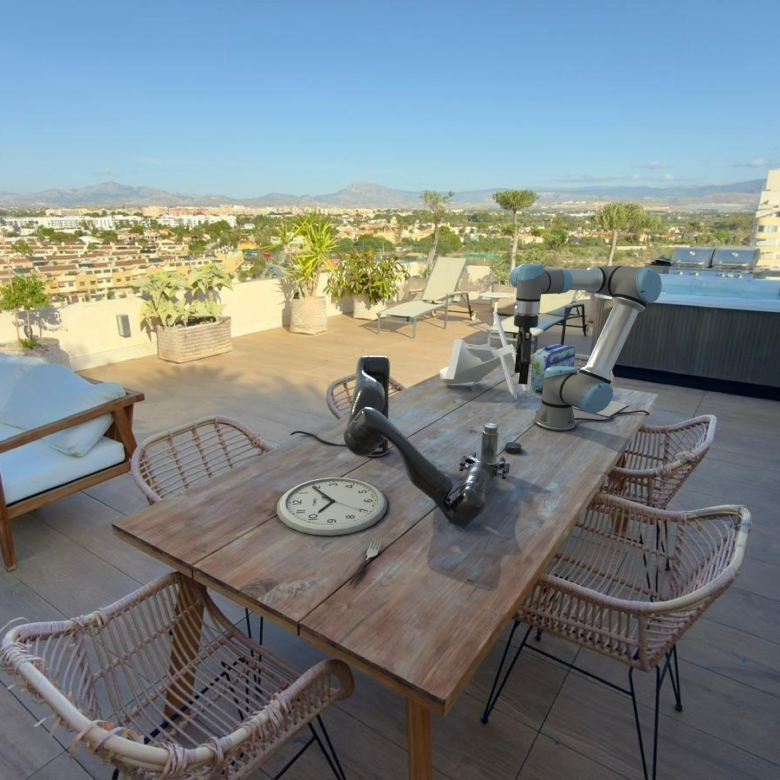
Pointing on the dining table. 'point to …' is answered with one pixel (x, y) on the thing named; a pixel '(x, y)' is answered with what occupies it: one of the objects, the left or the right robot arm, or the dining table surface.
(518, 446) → the lid
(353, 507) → the wall clock
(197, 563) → the dining table surface
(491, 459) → the jar
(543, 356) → the lunch box
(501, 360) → the white plastic object
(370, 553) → the fork
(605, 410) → the invitation card
